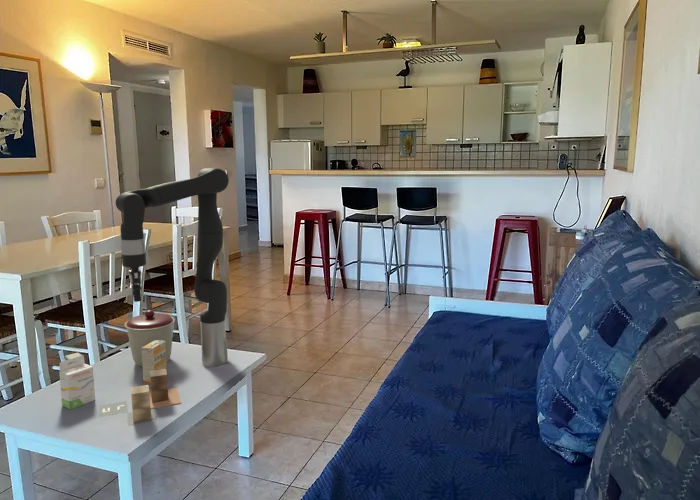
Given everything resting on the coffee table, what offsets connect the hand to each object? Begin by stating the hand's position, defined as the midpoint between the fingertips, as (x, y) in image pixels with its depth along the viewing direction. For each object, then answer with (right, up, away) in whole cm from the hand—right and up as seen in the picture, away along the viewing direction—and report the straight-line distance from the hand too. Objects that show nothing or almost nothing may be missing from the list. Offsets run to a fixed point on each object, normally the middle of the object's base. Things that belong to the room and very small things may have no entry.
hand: (136, 298), depth 173 cm
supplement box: (+3, -30, +9) cm, 32 cm away
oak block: (+9, -35, -18) cm, 40 cm away
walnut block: (+11, -33, -7) cm, 35 cm away
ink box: (-15, -33, -10) cm, 38 cm away
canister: (-4, -28, +24) cm, 36 cm away
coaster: (+11, -33, -7) cm, 35 cm away
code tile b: (+9, -35, -18) cm, 40 cm away
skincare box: (-20, -32, 0) cm, 37 cm away
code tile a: (-2, -34, -14) cm, 37 cm away
